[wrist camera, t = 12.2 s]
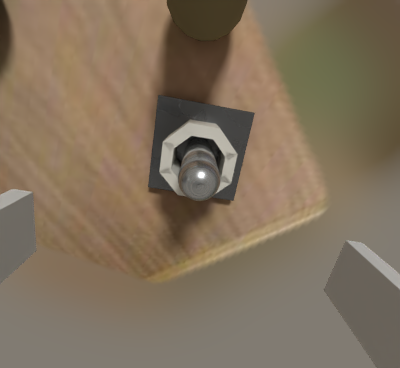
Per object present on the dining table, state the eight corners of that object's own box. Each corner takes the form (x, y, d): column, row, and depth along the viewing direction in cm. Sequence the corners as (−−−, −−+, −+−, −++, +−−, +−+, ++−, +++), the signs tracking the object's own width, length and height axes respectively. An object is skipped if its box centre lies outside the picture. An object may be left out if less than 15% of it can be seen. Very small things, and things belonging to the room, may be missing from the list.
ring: (164, 176, 31) (156, 191, 26) (171, 115, 29) (165, 118, 23) (221, 185, 32) (226, 202, 26) (233, 126, 29) (242, 132, 24)
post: (149, 184, 33) (114, 243, 19) (159, 95, 29) (124, 86, 15) (232, 197, 34) (256, 264, 20) (252, 112, 30) (300, 120, 16)
